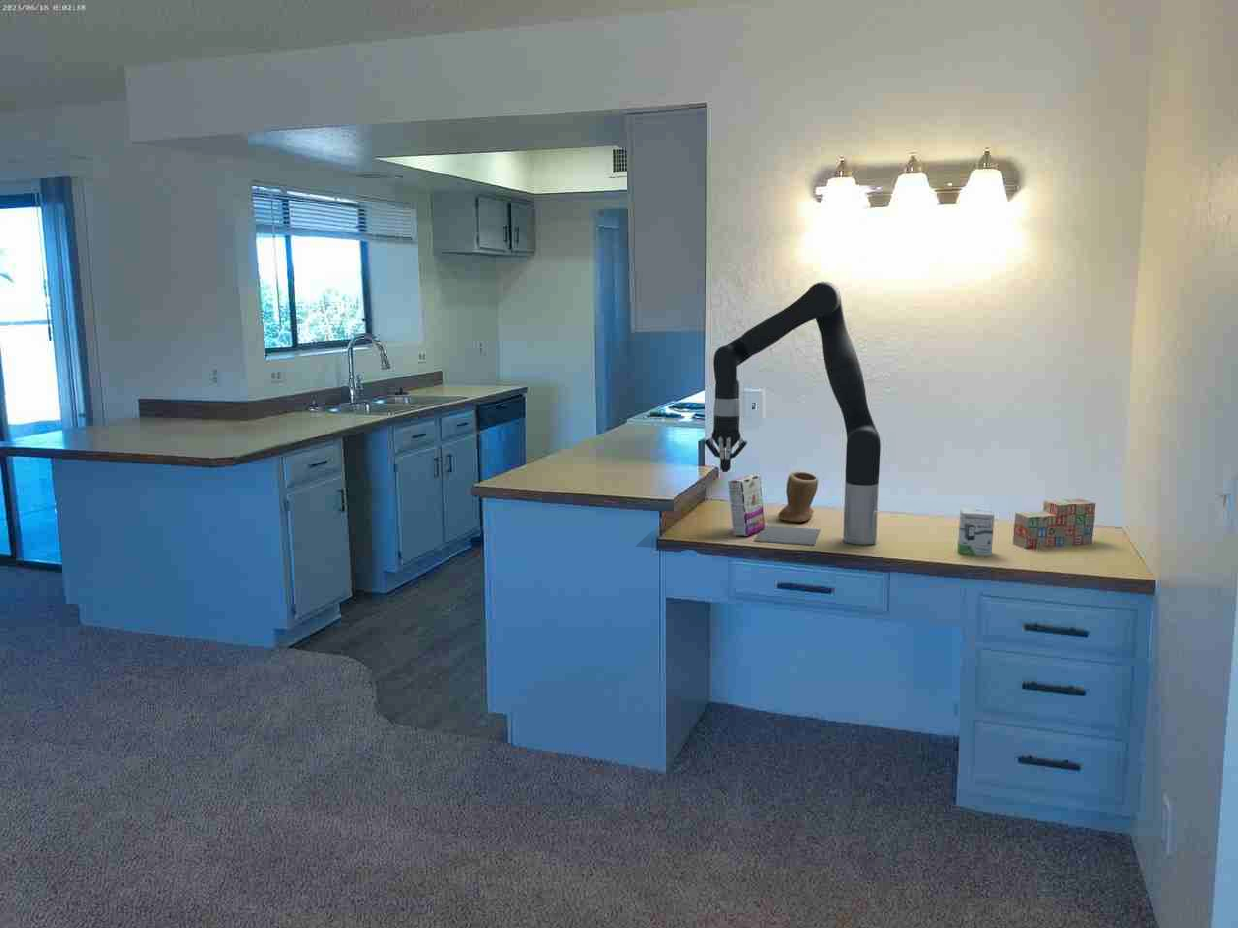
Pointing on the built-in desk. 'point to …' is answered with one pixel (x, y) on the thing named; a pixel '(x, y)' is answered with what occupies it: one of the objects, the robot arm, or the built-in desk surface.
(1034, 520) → the stack of blocks
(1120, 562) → the built-in desk surface
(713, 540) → the built-in desk surface
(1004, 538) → the built-in desk surface
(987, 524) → the ink box
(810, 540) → the mat
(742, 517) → the candy bar box
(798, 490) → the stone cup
